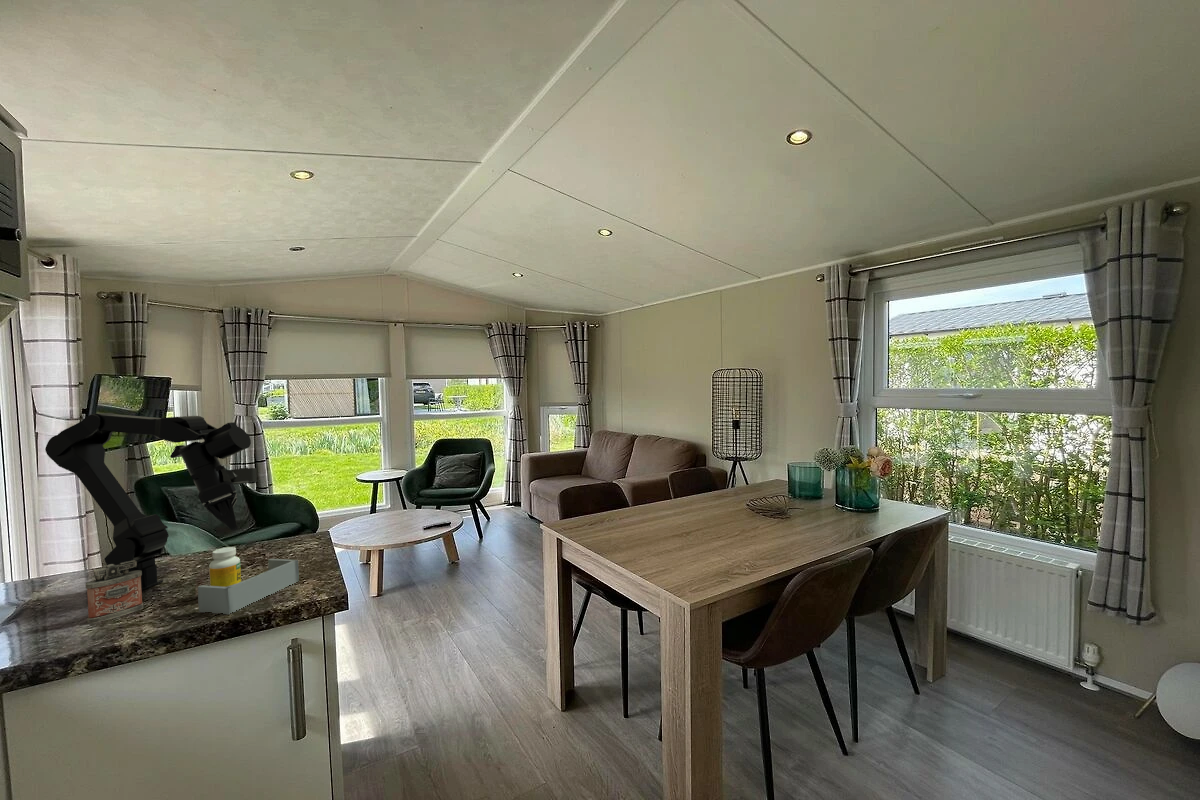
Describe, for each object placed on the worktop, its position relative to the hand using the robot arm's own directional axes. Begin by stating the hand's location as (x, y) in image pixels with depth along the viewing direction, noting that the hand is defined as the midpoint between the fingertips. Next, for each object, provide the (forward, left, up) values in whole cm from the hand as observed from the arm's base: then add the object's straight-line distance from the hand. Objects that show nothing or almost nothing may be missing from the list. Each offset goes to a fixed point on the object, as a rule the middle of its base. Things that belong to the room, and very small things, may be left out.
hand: (234, 529), depth 112 cm
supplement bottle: (+3, -6, -13) cm, 14 cm away
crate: (+9, -7, -12) cm, 17 cm away
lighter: (-12, -16, -13) cm, 23 cm away
